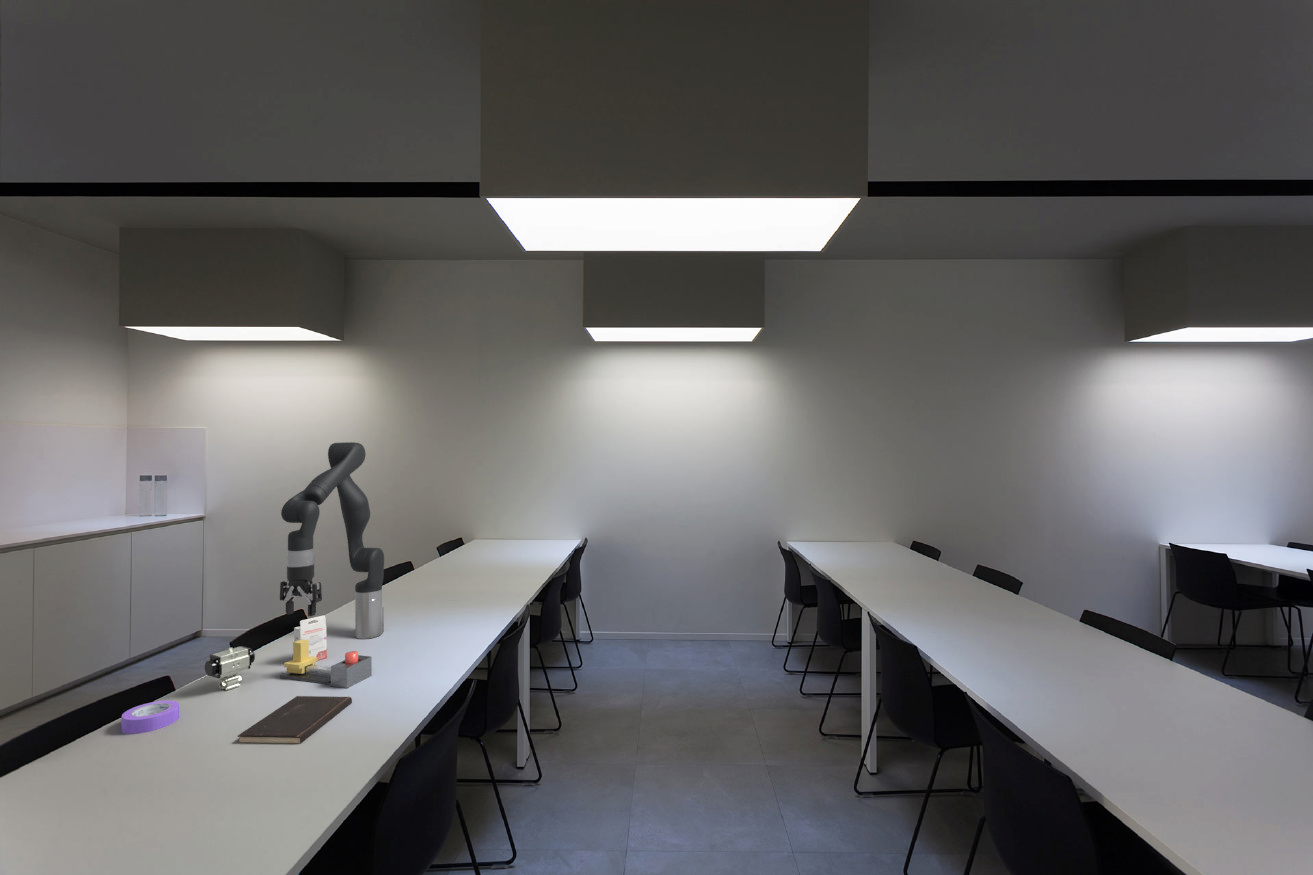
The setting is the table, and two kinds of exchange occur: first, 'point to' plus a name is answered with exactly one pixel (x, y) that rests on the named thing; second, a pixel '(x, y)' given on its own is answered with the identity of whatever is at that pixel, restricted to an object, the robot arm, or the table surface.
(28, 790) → the table surface
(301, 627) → the ink cartridge box
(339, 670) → the grey button housing
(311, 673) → the rail
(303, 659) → the yellow flanged block
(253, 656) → the pneumatic valve
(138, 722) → the masking tape
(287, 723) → the hardcover book
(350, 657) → the button
